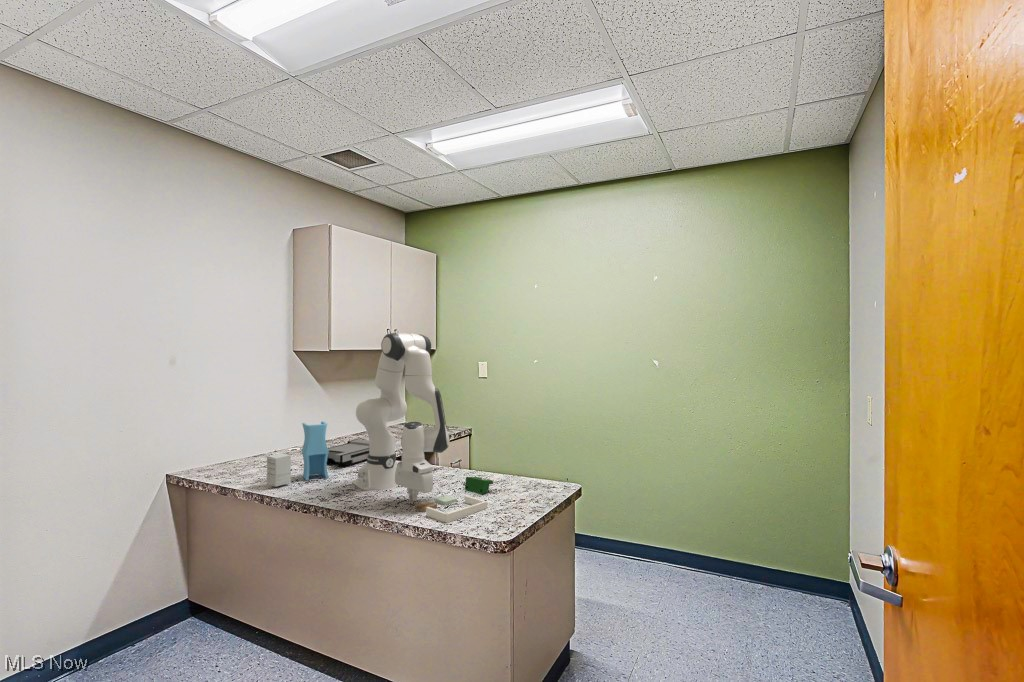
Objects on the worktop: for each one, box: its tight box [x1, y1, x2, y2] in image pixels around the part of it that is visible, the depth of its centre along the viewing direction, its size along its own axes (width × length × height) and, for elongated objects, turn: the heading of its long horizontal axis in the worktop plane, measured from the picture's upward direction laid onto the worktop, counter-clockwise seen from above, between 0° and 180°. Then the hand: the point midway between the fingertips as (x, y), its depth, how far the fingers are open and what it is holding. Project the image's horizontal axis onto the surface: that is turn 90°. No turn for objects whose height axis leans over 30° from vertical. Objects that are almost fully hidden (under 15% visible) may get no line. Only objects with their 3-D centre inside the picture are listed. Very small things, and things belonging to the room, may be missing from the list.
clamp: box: [464, 476, 494, 495], centre depth 216 cm, size 12×6×9 cm, turn 44°
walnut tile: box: [414, 500, 438, 513], centre depth 194 cm, size 6×6×2 cm
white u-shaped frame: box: [425, 495, 488, 524], centre depth 189 cm, size 12×20×3 cm, turn 138°
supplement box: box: [266, 452, 292, 487], centre depth 228 cm, size 7×7×13 cm
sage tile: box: [434, 495, 458, 506], centre depth 201 cm, size 6×6×2 cm
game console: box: [327, 438, 369, 468], centre depth 274 cm, size 21×32×8 cm, turn 154°
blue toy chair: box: [301, 421, 329, 481], centre depth 241 cm, size 10×10×25 cm
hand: (413, 499), depth 199 cm, fingers closed
